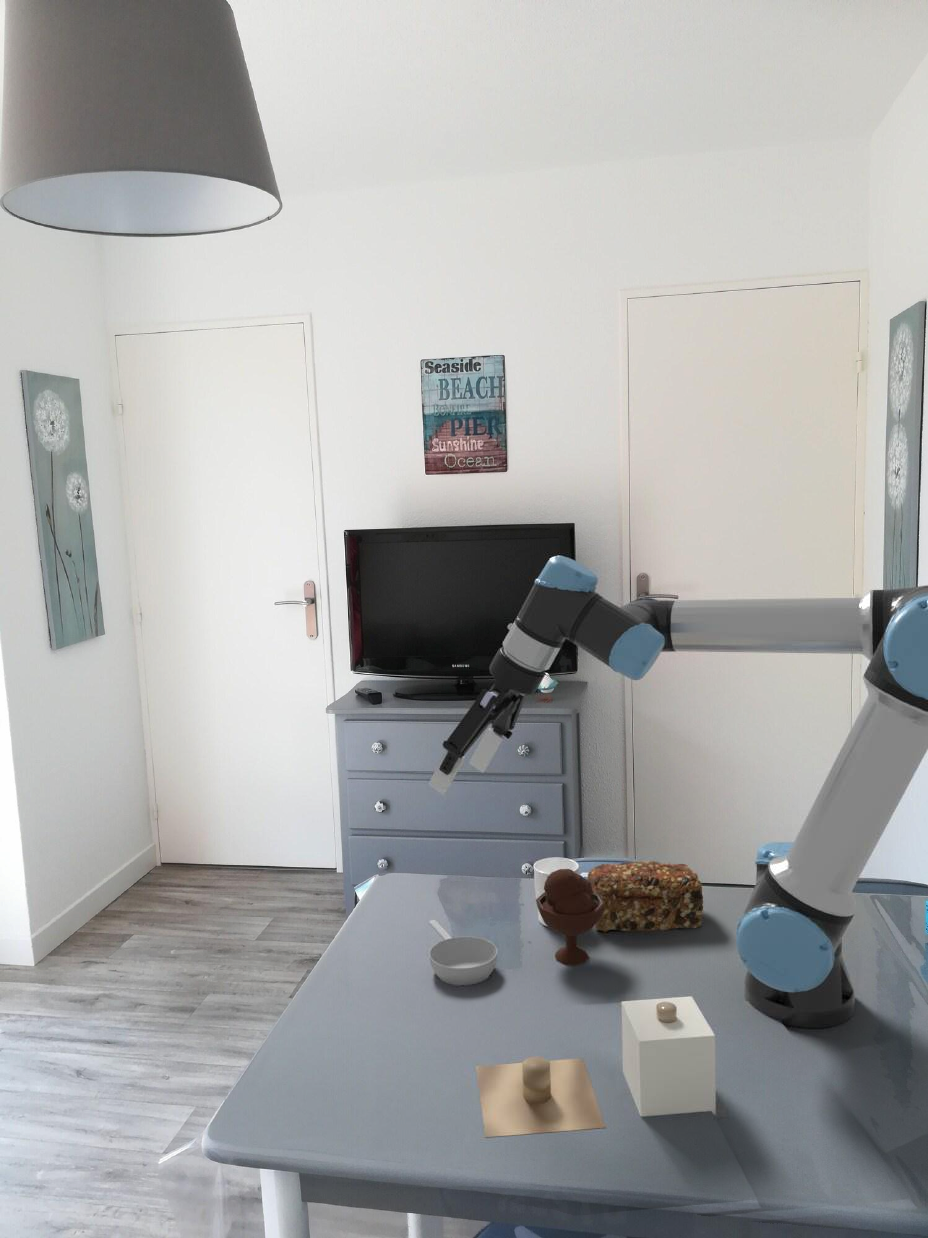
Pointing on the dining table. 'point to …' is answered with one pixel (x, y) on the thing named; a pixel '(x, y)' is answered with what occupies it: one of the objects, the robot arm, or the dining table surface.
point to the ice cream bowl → (570, 911)
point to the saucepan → (462, 958)
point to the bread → (647, 896)
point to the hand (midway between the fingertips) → (457, 778)
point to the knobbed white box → (668, 1056)
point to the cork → (536, 1080)
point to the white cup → (546, 868)
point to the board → (517, 1116)
